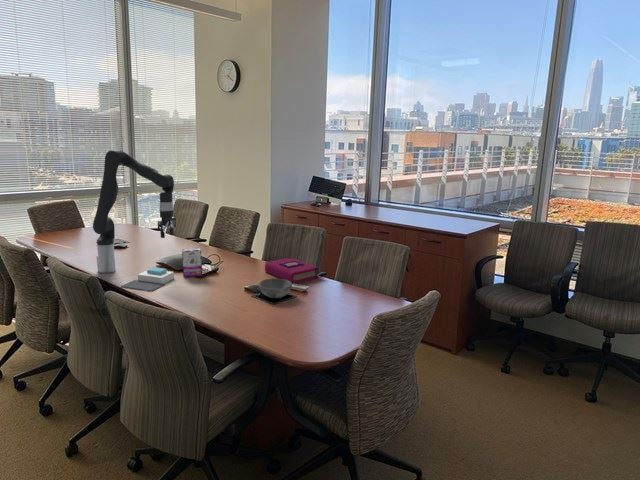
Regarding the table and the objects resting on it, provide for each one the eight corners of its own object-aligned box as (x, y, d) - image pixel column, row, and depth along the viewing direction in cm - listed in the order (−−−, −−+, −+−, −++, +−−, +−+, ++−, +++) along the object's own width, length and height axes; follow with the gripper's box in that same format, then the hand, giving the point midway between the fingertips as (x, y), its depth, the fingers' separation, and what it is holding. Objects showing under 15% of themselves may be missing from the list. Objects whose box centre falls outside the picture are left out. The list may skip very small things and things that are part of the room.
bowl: (255, 292, 264) (255, 278, 262) (285, 289, 270) (286, 276, 268) (263, 303, 248) (263, 289, 246) (295, 300, 254) (295, 286, 252)
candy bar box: (202, 273, 293) (201, 248, 289) (202, 276, 289) (201, 250, 285) (183, 274, 290) (182, 248, 286) (183, 277, 286) (182, 250, 282)
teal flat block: (147, 273, 278) (147, 269, 278) (153, 270, 284) (153, 267, 283) (160, 275, 276) (160, 271, 275) (166, 272, 281) (166, 268, 281)
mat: (120, 287, 265) (120, 286, 265) (134, 280, 276) (134, 279, 276) (151, 291, 260) (151, 290, 260) (164, 285, 271) (164, 284, 271)
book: (292, 284, 280) (292, 272, 278) (264, 273, 300) (264, 261, 298) (319, 278, 293) (319, 266, 291) (291, 267, 314) (291, 256, 312)
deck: (138, 281, 276) (137, 274, 275) (150, 275, 287) (150, 268, 286) (161, 284, 272) (161, 277, 271) (174, 278, 283) (173, 271, 282)
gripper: (168, 206, 286) (169, 233, 290) (153, 210, 273) (154, 238, 276) (179, 208, 284) (179, 234, 287) (164, 211, 270) (165, 239, 274)
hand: (167, 236), depth 282 cm, fingers open, 8 cm apart
